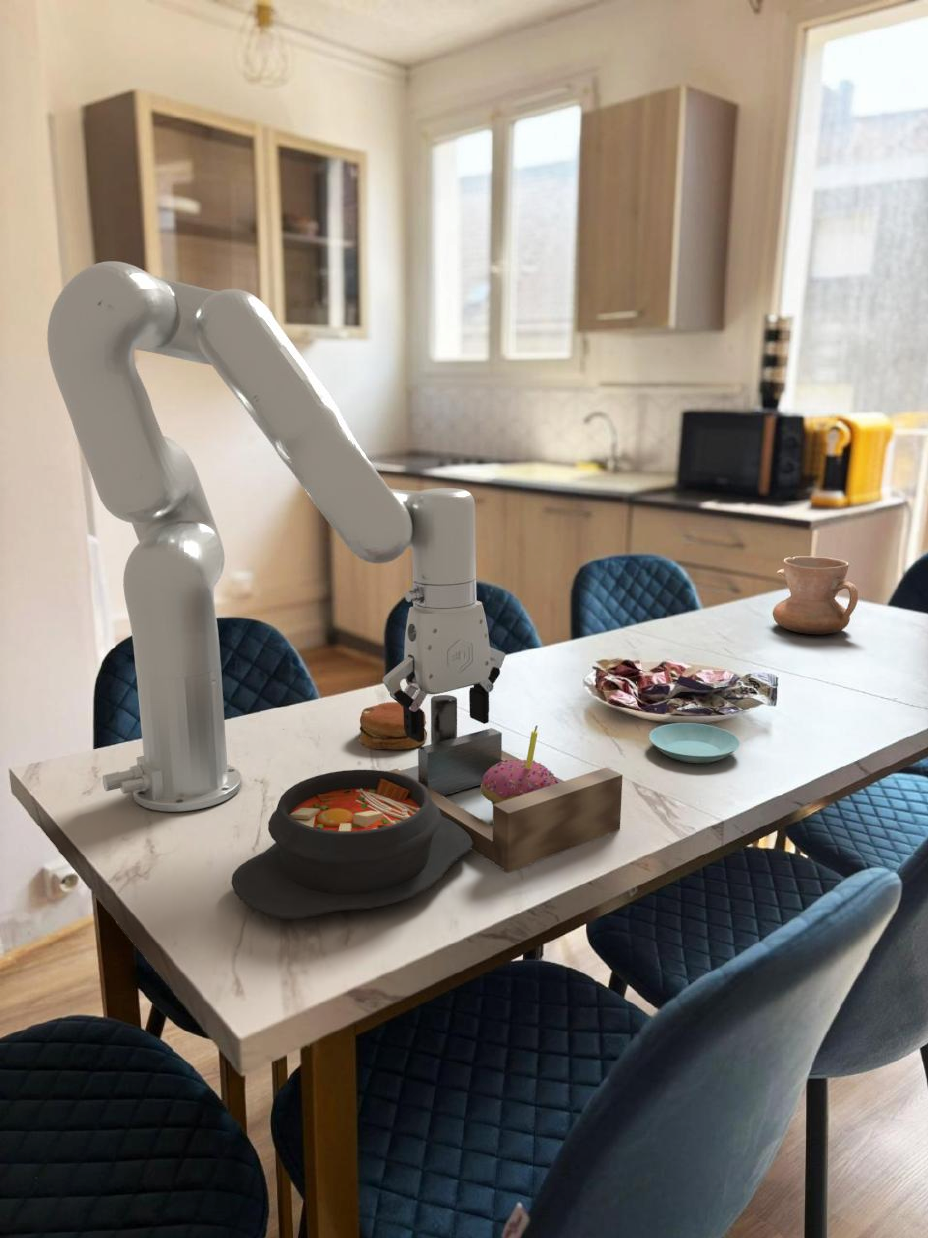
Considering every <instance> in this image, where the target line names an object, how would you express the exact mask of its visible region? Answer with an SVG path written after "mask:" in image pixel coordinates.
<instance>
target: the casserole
mask: <svg viewBox="0 0 928 1238" xmlns="http://www.w3.org/2000/svg"><path fill="white" fill-rule="evenodd" d="M387 771H388V770H378V769H348V770H347V769H346V770H338V771H333V772H327V773H323V774H318V775H315V776H312V777H309V778H307V779H304V780H301V781H300V782H298V783H296V784H294V785H293V786H291V787H289V788H288V789H287V790H286V791H284V793H283V794H282V795H281V796H280V799H279V800H278V803H277V806H276V808H275V810H274V812H273V813H272V814H271V816H270V818H269V820H268V826H267V830H268V832H269V835H270V837H271V839H272V840H273V841H274V844H272V845H271V846H269V847H268V848H267V849H266V850H265V851H263V852H261V853H259V854H257V855H256V856H253V857H252V858H249V859H248V860H246V861H244V862H243V863H241V864H240V865H238V867H237V868H236V870H234V872H233V874H232V875H231V885H232V888H233V892H234V893H235V895H237V897H238V899H240V901H241V902H242V903H244V904H245V905H247V906H248V907H250V908H251V909H253V910H254V911H258V912H259V913H262V914H264V915H267V916H271V917H275V918H279V919H284V920H287V919H290V920H291V919H295V920H296V919H302V918H304V919H305V918H311V917H314V916H318V915H323V914H327V913H331V912H339V911H340V912H341V911H352V910H361V909H362V910H363V909H373V908H378V907H379V908H380V907H383V906H387V905H391V904H396V903H398V902H403V901H404V900H407V899H411V898H412V897H414V896H416V895H419V894H421V893H423V892H425V891H427V890H428V889H429V888H430V887H432V886H434V884H436V883H437V882H438V881H439V880H440V879H441V878H442V877H443V876H444V874H445V873H446V872H447V871H448V869H449V868H450V867H451V866H452V865H453V864H454V863H455V862H456V861H458V860H459V859H460V858H462V857H463V856H465V855H466V854H468V853H469V852H470V851H471V850H472V849H471V848H472V844H473V842H472V839H471V837H470V835H469V834H468V833H467V832H466V831H465V830H464V829H463V828H462V827H460V826H459V825H458V824H456V823H455V822H453V821H451V820H449V819H447V818H445V817H443V816H441V813H440V810H439V808H438V807H437V805H436V804H435V803H434V802H433V801H432V799H431V796H430V794H429V791H428V790H427V789H426V788H425V786H424V785H422V784H421V783H419V782H418V781H416V780H414V779H412V778H410V777H408V776H404V775H401V774H397V773H393V772H387Z"/></svg>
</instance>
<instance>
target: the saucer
mask: <svg viewBox="0 0 928 1238" xmlns="http://www.w3.org/2000/svg"><path fill="white" fill-rule="evenodd" d="M648 739H649V741H650V742H651V743H652V745H654V747H656V749H658V750H659V752H661V753H663V754H664V755H666V756H667V757H669V758H672V759H674V760H676V761H680V762H682V763H683V762H684V763H688V764H689V763H690V764H708V763H713V762H716V761H717V762H718V761H720V760H722V759H724V758H727V757H728V756H729V755H731V754H733V753H734V752H735V751H737V750H738V748H739V747H740V744H741V743H740V739H739V738H738V736H736V735H735V734H734V733H733V732H730V731H729V730H727V729H724V728H720V727H718V726H714V725H708V724H704V723H695V722H677V723H670V724H669V723H668V724H664V725H660V726H658V727H655V728H653V729H652V730H651V731H650V732H649V735H648Z"/></svg>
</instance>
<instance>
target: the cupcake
mask: <svg viewBox="0 0 928 1238" xmlns="http://www.w3.org/2000/svg"><path fill="white" fill-rule="evenodd" d="M537 729H538V724H537V725H535V727H534V730H532V731H531V733H530V740H529V745H528V751H527V756H526V759H521V760H512V761H511V760H510V761H509V760H506V761H502V762H499V763H498V764H496V765H493V766H492V767H491V768H489V769H488V770H486V771H487V772H486V773H485V774H484V776H483V779H482V780H483V781H482V784H480V793H481V794H482V796H483V797H484V799H487V801H490V802H491V804H492V805H493V804H496V803H499V802H502V801H505V800H508V799H511V798H514V797H518V796H521V795H524V794H527V793H530V792H533V791H536V790H539V789H542V788H545V787H548V786H551V785H554V784H557V783H558V782H557V781H558V779H557V780H556V778H555V777H556V776H555V775H554V773H552V771H551V770H549V769H548V768H547V767H546V766H545V765H543V764H542V763H541V762H536V761H535V760H534V755H535V750H536V743H537V737H538V730H537ZM554 776H555V777H554Z"/></svg>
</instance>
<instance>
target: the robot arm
mask: <svg viewBox="0 0 928 1238" xmlns="http://www.w3.org/2000/svg"><path fill="white" fill-rule="evenodd" d="M50 311H51V312H50V315H49V318H48V324H47V338H46V339H47V340H46V341H47V351H48V356H49V361H50V365H51V369H52V373H53V375H54V378H55V380H56V384H57V386H58V389H59V391H60V394H61V397H62V399H63V401H64V404H65V407H66V409H67V413H68V415H69V418H70V420H71V425H72V426H73V430H74V432H75V435H76V438H77V441H78V444H79V446H80V449H81V451H82V454H83V456H84V460H85V462H86V464H87V468H88V470H89V472H90V475H91V478H92V481H93V483H94V487H95V490H96V492H97V494H98V495H97V496H98V497H99V499H100V501H101V503H102V505H103V506H104V507H105V509H106V510H107V511H108V513H110V514H111V515H112V516H113V517H115V518H117V519H119V520H120V521H124V522H126V523H131V524H132V527H133V529H134V532H135V535H136V537H137V540H138V544H137V545H136V546H135V547H134V548H133V549H132V551H131V552H130V554H129V556H128V558H127V560H126V563H125V567H124V571H123V579H122V581H123V585H122V586H123V593H124V595H123V596H124V601H125V606H126V610H127V614H128V615H127V616H128V619H129V624H130V631H131V636H132V646H133V655H134V664H135V665H134V667H135V673H136V684H137V695H138V704H139V705H138V706H139V707H138V708H139V717H140V718H139V719H140V729H141V741H142V749H143V755H140V756H138V757H136V765H130V767H129V769H128V770H124V771H116V772H112V773H108V774H107V773H106V774H103V775H102V784H103V789H104V791H105V792H110V791H114V790H118V789H120V791H121V793H122V795H125V794H129V793H132V796H133V798H134V802H136V803H137V804H138V805H140V806H142V807H143V808H145V809H150V810H152V811H158V812H168V813H169V812H170V813H174V812H177V813H178V812H189V811H195V810H201V809H205V808H209V807H213V806H216V805H218V804H220V803H223V802H225V801H227V800H230V798H233V796H235V795H236V794H237V793H238V792H239V791H240V790H241V787H242V781H243V780H242V774H241V772H240V771H239V770H238V769H237V768H235V767H234V766H232V765H230V764H228V754H227V741H226V740H227V736H226V724H225V723H226V722H225V709H224V696H223V695H224V694H223V677H222V676H223V675H222V662H221V651H220V650H221V649H220V638H219V629H218V628H219V627H218V620H217V614H216V606H215V605H216V603H215V586H216V585H217V584H218V582H219V580H220V579H221V576H222V574H223V571H224V567H225V549H224V546H223V543H222V542H223V541H222V539H221V536H220V533H219V531H218V528H217V524H216V522H215V519H214V516H213V514H212V511H211V508H210V505H209V503H208V499H207V496H206V494H205V492H204V487H203V485H202V483H201V480H200V478H199V477H200V476H199V475H198V471H197V469H196V467H195V465H194V463H193V461H192V459H191V457H190V456H189V454H188V453H187V451H186V450H185V449H184V448H183V447H182V446H181V445H180V444H179V443H177V442H176V441H175V440H173V439H171V438H170V437H167V436H165V435H163V433H162V431H161V427H160V425H159V423H158V420H157V417H156V415H155V412H154V410H153V406H152V403H151V398H150V396H149V394H148V392H147V389H146V387H145V385H144V382H143V380H142V378H141V376H140V374H139V372H138V369H137V366H136V363H135V362H136V361H135V351H140V352H141V351H142V352H147V353H153V354H157V355H163V356H167V357H171V358H175V359H181V360H185V361H189V362H193V363H194V362H195V363H198V364H199V363H200V364H204V365H208V366H212V368H213V369H214V370H215V371H216V373H217V374H218V376H219V377H220V378H221V379H222V381H223V382H224V383H225V385H226V386H227V387H228V388H229V390H230V391H231V392H232V393H233V395H234V396H235V397H236V399H237V400H238V401H239V402H240V404H241V405H242V406H243V408H244V409H245V410H246V412H247V413H248V415H250V417H251V418H252V420H253V421H254V423H255V424H256V426H257V427H258V428H259V429H260V430H261V432H262V433H263V435H264V436H265V437H266V438H267V441H269V443H270V444H271V445H272V447H273V449H274V451H275V452H276V453H277V456H279V458H280V459H281V461H282V462H283V463H284V464H285V465H286V467H287V468H288V469H289V470H290V472H291V473H292V475H294V477H295V478H296V480H297V481H298V482H299V484H300V485H301V487H302V488H303V490H304V491H305V492H306V494H307V495H308V497H309V498H310V500H311V501H312V502H313V504H314V505H315V507H316V508H317V509H318V511H319V512H320V513H321V514H322V516H323V517H324V518H325V520H326V521H327V522H328V523H329V525H330V526H331V527H332V529H333V530H334V531H335V533H336V534H337V535H338V536H339V538H340V540H341V541H342V542H343V544H344V545H345V546H346V547H347V548H348V549H349V550H350V552H352V553H353V554H354V556H356V557H358V558H359V559H361V560H363V561H365V562H367V563H371V564H386V563H390V562H392V561H394V560H396V559H398V558H399V557H401V555H403V554H404V552H405V551H406V550H407V549H408V547H410V549H411V565H412V566H411V568H412V569H411V570H412V571H411V572H412V582H411V589H410V590H406V591H405V593H404V598H405V601H406V602H408V603H411V602H412V604H413V606H410V607H409V609H408V613H407V619H406V627H405V635H404V636H405V637H404V653H403V655H404V657H403V658H404V659H403V661H401V662H400V663H399V664H397V665H396V666H395V667H394V668H392V669H391V670H390V671H389V672H388V673H387V674H386V675H384V676H383V677H382V682H383V684H384V685H385V688H386V689H387V691H388V692H389V696H390V697H391V698H392V699H393V700H394V701H395V702H398V703H399V704H400V705H401V706H403V713H404V730H405V732H406V735H407V736H408V737H410V738H411V739H413V740H415V741H417V742H422V741H423V740H424V739H425V737H424V713H425V711H424V710H423V709H422V708H421V706H422V705H423V703H424V701H425V699H426V697H427V695H440V694H443V693H448V692H451V691H456V690H459V689H464V688H467V687H469V690H468V692H469V693H468V694H469V696H468V697H469V699H468V701H469V706H468V707H469V717H470V719H473V720H474V721H477V722H479V723H481V724H484V725H485V724H488V723H490V719H489V718H490V715H489V713H490V693H491V692H492V691H493V689H494V683H495V682H496V680H497V679H498V678H499V676H500V674H501V670H500V669H501V668H502V665H503V663H504V661H505V659H506V654H505V652H503V651H501V650H499V649H496V648H494V647H491V645H490V637H489V629H488V623H487V619H486V618H487V617H486V613H485V610H484V605H483V602H482V601H480V600H477V578H476V577H477V561H476V559H477V558H476V557H477V555H476V553H477V552H476V550H477V549H476V547H477V546H476V545H477V543H476V505H475V499H474V497H473V494H471V492H469V491H468V490H465V489H461V488H455V487H454V488H452V487H449V488H448V487H447V488H446V487H442V488H441V487H439V488H438V487H437V488H429V489H423V490H422V489H421V490H409V489H408V490H406V489H397V488H390V487H389V486H388V485H387V483H386V482H385V480H384V479H383V478H382V477H381V475H380V473H379V472H378V471H377V469H376V468H375V467H374V465H373V464H372V462H371V461H370V460H369V458H368V457H367V455H366V454H365V452H364V451H363V450H362V448H361V447H360V445H359V444H358V442H357V441H356V439H355V438H354V436H353V434H352V432H351V430H350V429H349V427H348V425H347V423H346V421H345V418H344V417H343V414H342V411H341V410H340V409H339V407H338V404H337V403H336V402H335V400H334V399H333V397H332V395H331V394H330V393H329V391H328V390H327V389H326V387H325V386H324V385H323V383H322V382H321V381H320V379H319V378H318V377H317V375H316V373H314V371H313V370H312V368H311V367H310V366H309V364H308V363H307V362H306V360H305V359H304V358H303V356H302V355H301V354H300V352H299V351H298V349H297V348H296V347H295V345H294V344H293V343H292V341H291V340H290V338H289V337H288V335H287V334H286V333H285V331H284V330H283V329H282V327H281V326H280V324H279V323H278V322H277V320H276V318H275V317H274V316H275V315H274V314H273V313H272V311H271V310H270V309H269V307H268V306H267V305H265V304H264V302H262V301H261V300H260V299H259V298H258V297H257V296H255V295H254V294H252V293H250V292H249V291H245V290H244V289H243V290H242V289H239V288H238V289H237V288H228V289H222V290H220V291H218V290H214V289H213V290H212V289H209V288H204V287H199V286H195V285H191V284H187V283H184V282H180V281H179V282H178V281H175V280H170V279H166V278H163V277H159V276H155V275H153V274H151V273H149V272H147V271H145V270H143V269H142V268H140V267H138V266H135V265H133V264H130V263H126V262H122V261H112V260H111V261H109V260H108V261H102V262H98V263H95V264H93V265H90V266H88V267H86V268H84V269H82V270H81V271H80V272H78V273H77V274H76V275H75V276H74V277H73V278H71V279H70V281H69V282H68V283H67V284H66V285H65V286H64V287H63V289H62V290H61V292H60V293H59V295H58V296H57V298H56V300H55V302H54V304H53V306H52V309H51V310H50ZM404 679H405V682H406V687H405V688H404V690H403V688H402V686H401V683H402V681H403V680H404ZM419 708H421V709H422V710H421V709H419ZM423 711H424V712H423Z"/></svg>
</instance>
